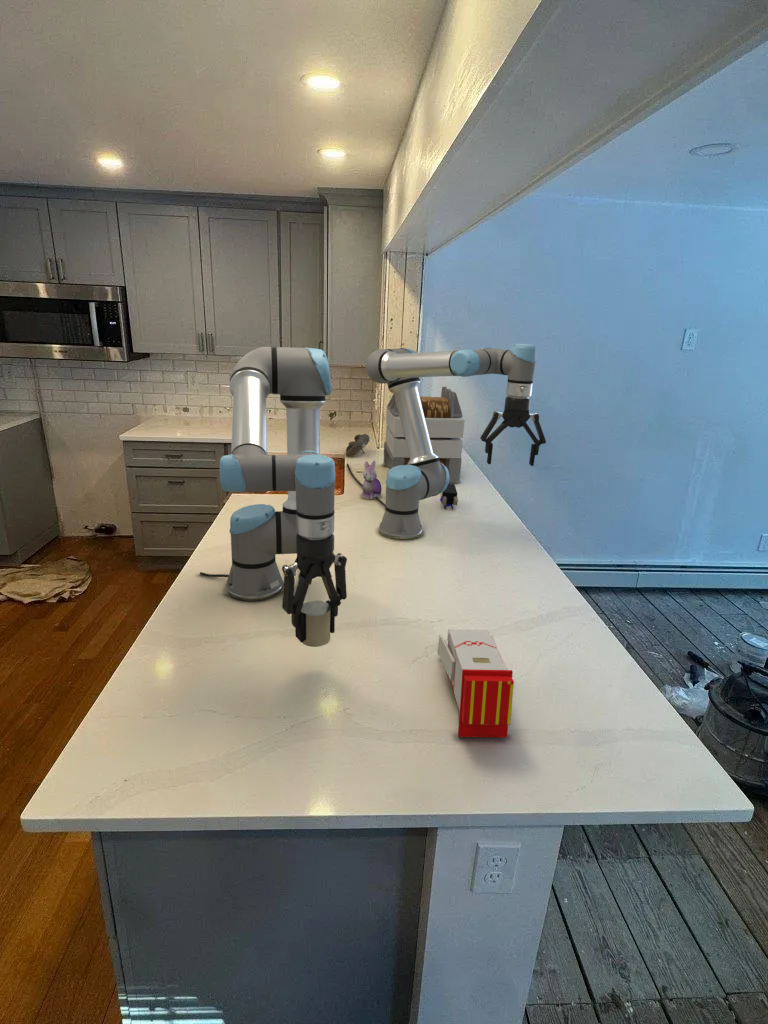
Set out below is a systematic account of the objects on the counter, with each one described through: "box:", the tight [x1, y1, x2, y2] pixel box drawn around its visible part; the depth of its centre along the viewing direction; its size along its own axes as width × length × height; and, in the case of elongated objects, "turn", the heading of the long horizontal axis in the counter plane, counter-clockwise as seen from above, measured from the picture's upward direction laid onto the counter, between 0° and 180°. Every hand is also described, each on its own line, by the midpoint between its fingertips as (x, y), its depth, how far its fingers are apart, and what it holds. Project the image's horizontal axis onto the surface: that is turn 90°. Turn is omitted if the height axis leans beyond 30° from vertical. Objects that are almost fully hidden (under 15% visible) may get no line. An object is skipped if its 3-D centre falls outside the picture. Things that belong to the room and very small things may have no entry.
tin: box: [301, 599, 331, 648], centre depth 119 cm, size 6×6×8 cm
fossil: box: [345, 433, 370, 458], centre depth 306 cm, size 22×10×15 cm
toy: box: [437, 628, 515, 738], centre depth 117 cm, size 12×13×30 cm
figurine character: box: [439, 483, 459, 510], centre depth 230 cm, size 7×8×15 cm
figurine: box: [361, 460, 383, 500], centre depth 235 cm, size 9×10×15 cm
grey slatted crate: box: [383, 386, 465, 484], centre depth 268 cm, size 34×33×41 cm
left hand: (315, 634), depth 120 cm, fingers closed on tin, 6 cm apart
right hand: (510, 464), depth 180 cm, fingers open, 13 cm apart
